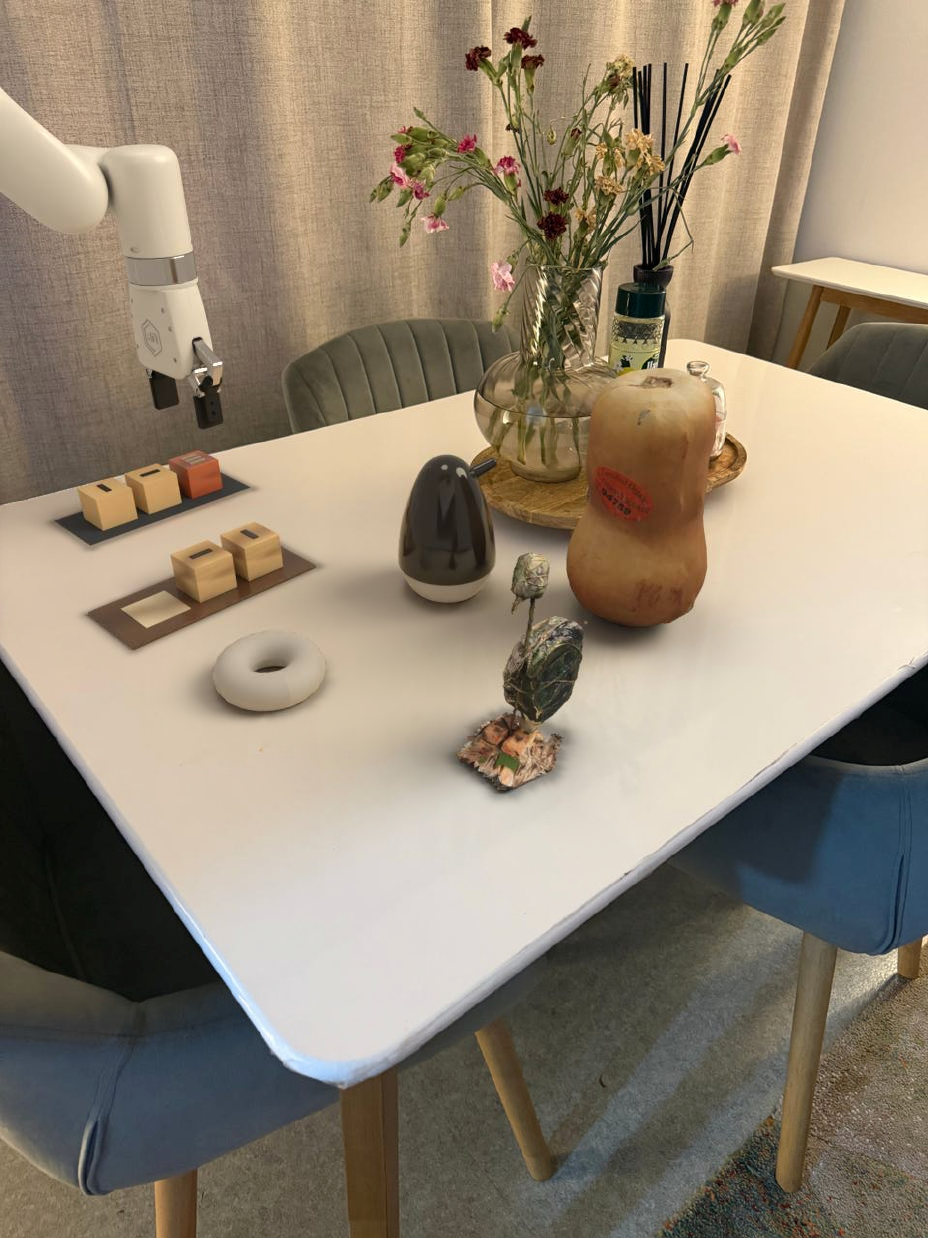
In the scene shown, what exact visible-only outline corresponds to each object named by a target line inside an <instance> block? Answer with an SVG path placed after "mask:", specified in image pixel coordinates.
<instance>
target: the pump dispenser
mask: <svg viewBox="0 0 928 1238" xmlns="http://www.w3.org/2000/svg"><path fill="white" fill-rule="evenodd" d="M497 466H498V461H497V459H496V458H495V457H494V456H491V457H489V458H487V459H485V460H482V461H480V462H478V463H476V464H474V465H472V466H470V464H468V462H466V460H464V459H463V458H461V457H460V456H458V455H457V456H456V455H453V454H439V455H436V456H434V457H432V458H431V459H428V460H427V461H426V462H425V463H424V465H423V466H422V467H421V469H420V471H419V472H418V474H417V476H416V478H414V482H413V484H412V486H411V489H410V492H409V494H408V497H407V500H406V503H405V506H404V510H403V514H402V518H401V522H400V529H399V535H398V536H399V538H398V546H397V562H398V566H399V568H400V570H401V571H402V573H403V576H404V578H405V580H406V582H407V584H408V585H409V587H410V588H411V589H412V590H413V591H414V592H415V593H416V594H418V595H419V596H421V597H422V598H424V599H426V600H429V601H432V602H435V603H441V604H442V603H443V604H447V603H448V604H452V603H458V602H462V601H465V600H468V599H470V598H472V597H474V596H476V595H477V594H478V593H479V592H480V591H481V590H482V589H483V588H484V587H485V586H486V584H487V583H488V581H489V579H490V576H491V573H492V571H493V570H494V569H495V566H496V562H497V548H496V537H495V531H494V524H493V519H492V515H491V512H490V511H491V510H490V507H489V504H488V501H487V498H486V495H485V492H484V490H483V488H482V486H481V484H480V481H479V479H480V478H482V477H483V476H485V475H486V474H488V473H490V472H491V471H492V470H494V469H495V468H497Z"/></svg>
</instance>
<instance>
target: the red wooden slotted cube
mask: <svg viewBox="0 0 928 1238" xmlns="http://www.w3.org/2000/svg"><path fill="white" fill-rule="evenodd" d="M167 463H168V467H169V470H171V471H173V472H174V473H176V475H177V480H178V486H179V491H180V493H182V494H184V495H186V496H188V497H190V498H191V499H194V498H197V497H200V496H202V495H205V494H208V493H211V492H214V491H217V490H219V489H222V488H223V487H222V481H221V474H220V472H221V469H220V461H219V459H218V458H217V457H214V456H212V455H210V454H208V453H206V452H203V451H202V450H200V449H197V450H194V451H191V452H188V453H185V454H181V455H178V456H175V457H172V458H170V459H167Z"/></svg>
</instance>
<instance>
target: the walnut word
mask: <svg viewBox="0 0 928 1238" xmlns="http://www.w3.org/2000/svg"><path fill="white" fill-rule="evenodd" d="M219 537H220V542H221V546H219V545H217V544H216V543H214V542H212V541H211V540H209V539H206V540H203V541H201V542H198V543H196V544H193V545H191V546H188V547H185V548H183V549H180V550H177V551H175V552H173V553H171V554H170V560H171V565H172V571H173V575H174V576H172V577H170V578H167V579H165V580H162V581H160V582H157V583H154V584H153V585H150V586H147V587H146V588H143V589H140V590H138V591H136V592H133V593H131V594H128V595H126V596H124V597H121V598H119V599H116V600H113V601H111V602H109V603H107V604H104V605H102V606H99V607H96V608H95V609H92V610H89V611H88V612H87V613H88V614H87V615H89V616H90V618H93V620H95V621H96V622H97V623H99V624H100V625H102V626H103V627H104V628H105V629H107V630H108V631H109V632H110V633H112V634H113V635H114V636H115V637H116V638H118V639H119V640H121V641H122V642H123V643H125V644H126V645H127V646H128V647H130V648H131V649H132V650H133V651H134V650H138V649H140V648H142V647H145V646H146V645H149V644H151V643H153V642H155V641H158V640H160V639H162V638H164V637H166V636H169V635H171V634H173V633H176V632H178V631H180V630H182V629H184V628H186V627H188V626H191V625H192V624H195V623H197V622H199V621H201V620H204V619H206V618H209V617H210V616H213V615H215V614H217V613H219V612H222V611H224V610H226V609H228V608H230V607H232V606H236V605H237V604H240V603H241V602H244V601H246V600H248V599H250V598H252V597H255V596H256V595H259V594H261V593H264V592H265V591H268V590H270V589H272V588H274V587H276V586H279V585H281V584H283V583H286V582H288V581H290V580H292V579H294V578H296V577H299V576H301V575H303V574H305V573H308V572H309V571H312V570H314V569H316V568H317V564H314V563H313V562H311V561H309V560H308V559H305V558H303V557H302V556H300V555H298V554H296V553H295V552H293V551H291V550H289V549H287V548H285V547H283V546H282V545H281V537H280V534H279V533H277V532H276V531H274V530H272V529H270V528H268V527H266V526H264V525H262V524H260V523H258V522H256V521H252V522H249V523H246V524H244V525H242V526H240V527H237V528H234V529H232V530H229V531H227V532H224V533H221V534H220V536H219Z"/></svg>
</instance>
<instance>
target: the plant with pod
mask: <svg viewBox="0 0 928 1238" xmlns="http://www.w3.org/2000/svg"><path fill="white" fill-rule="evenodd" d="M550 569H551V567H550V562H549V560H548V558H547V557H546V556H545V555H543V554H541V553H540V554H538V553H534V552H527V553H524V554H521V555H519V556H518V558H517V560H516V562H515V567H514V568H513V573H512V578H511V588H510V589H509V590H510V591H511V593H513V594H514V595H515V599H514V601H513V602H512V603H511V605H512V607H511V610H510V613H511V614H512V615H513V614H514V613H516V611H517V609H518V605H520V604H522V603H524V602H525V601H526V600H529V603H530V604H529V609H528V620H527V627H526V628H527V629H526V631H525V632H524V634H523V635H522V636H521V637H519V639H518V640H517V642H516V644H514V646H513V648H512V651H511V653H510V655H509V657H508V659H507V661H506V664H505V667H504V668H503V669H504V670H503V671H502V679H503V684H502V685H501V686H502V688H503V697H504V700H505V702H506V703H507V704H508V705H510V706H511V707H513V710H512V712H510V713H509V711H506V712H504V713H503V714H502V715H497V717H495V719H492V720H491V719H490V720H485V723H483V722H482V724H480V723H479V724H478V725H479V727H478V728H477V730H476V731H473V733H474V734H472V735H469V736H466V739H467V742H466V743H463V746H464V747H461V749H460V751H459V752H457V757H458V760H459V761H461V763H462V762H463V763H466V765H469V764H471V763H473V762H474V764H473V769H476V768H477V767H478V770H477V772H481V773H484V774H483V775H482V778H487V780H491V782H492V783H493V782H494V783H493V784H492V786H495V787H496V788H497V790H499V791H504V790H505V791H506V790H507V791H510V790H514V789H515V788H516V787H520V786H521V785H525V784H526V783H528V782H530V780H533V779H535V778H537V776H538V777H539V776H540V777H541V774H544V775H547V772H546V771H548V772H551V770H552V769H554V768H555V766H554V765H556V762H557V755H558V753H559V751H560V750H562V749H563V748H561V747H562V746H561V745H562V744H563V743H562V742H563V739H564V738H565V736H561V735H560V733H558V734H556V732H555V733H550V738H549V739H548V740H547V738H546V737H545V736H543V734H542V732H541V731H540V730H539V727H540V726H541V725H543V724H544V723H545V721H547V720H549V719H550V718H552V717H553V716H554V715H555V714H556V713H557V712H558V711H559V710H560V709H561V708H562V707H563V706H564V704H566V703H567V702H568V701H569V700H570V698H571V696H572V694H573V691H574V687H575V684H576V682H577V680H578V678H579V672H580V667H581V664H582V661H583V658H584V656H583V646H584V642H583V640H584V631H583V630H584V629H583V627H582V626H581V625H580V624H579V623H578V622H577V621H575V619H571V618H565V617H564V616H563V617H562V616H557V615H554V616H551V617H547V618H545V619H544V620H542V621H539V622H537V623H536V624H534V625H533V622H534V616H535V611H536V610H535V609H536V600H539V599H542V598H543V596H544V595H545V593H546V591H547V588H548V584H549V575H550ZM583 624H584V625H588V621H587V619H586V620H584V622H583ZM517 712H520V715H519V714H516V713H517ZM546 740H547V741H546Z"/></svg>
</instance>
